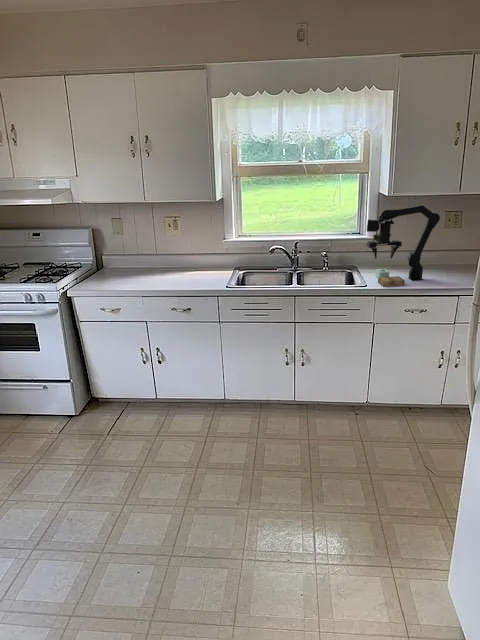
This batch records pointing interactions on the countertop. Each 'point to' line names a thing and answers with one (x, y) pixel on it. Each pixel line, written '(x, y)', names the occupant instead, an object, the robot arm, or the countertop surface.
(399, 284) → the walnut stand
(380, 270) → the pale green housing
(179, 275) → the countertop surface
